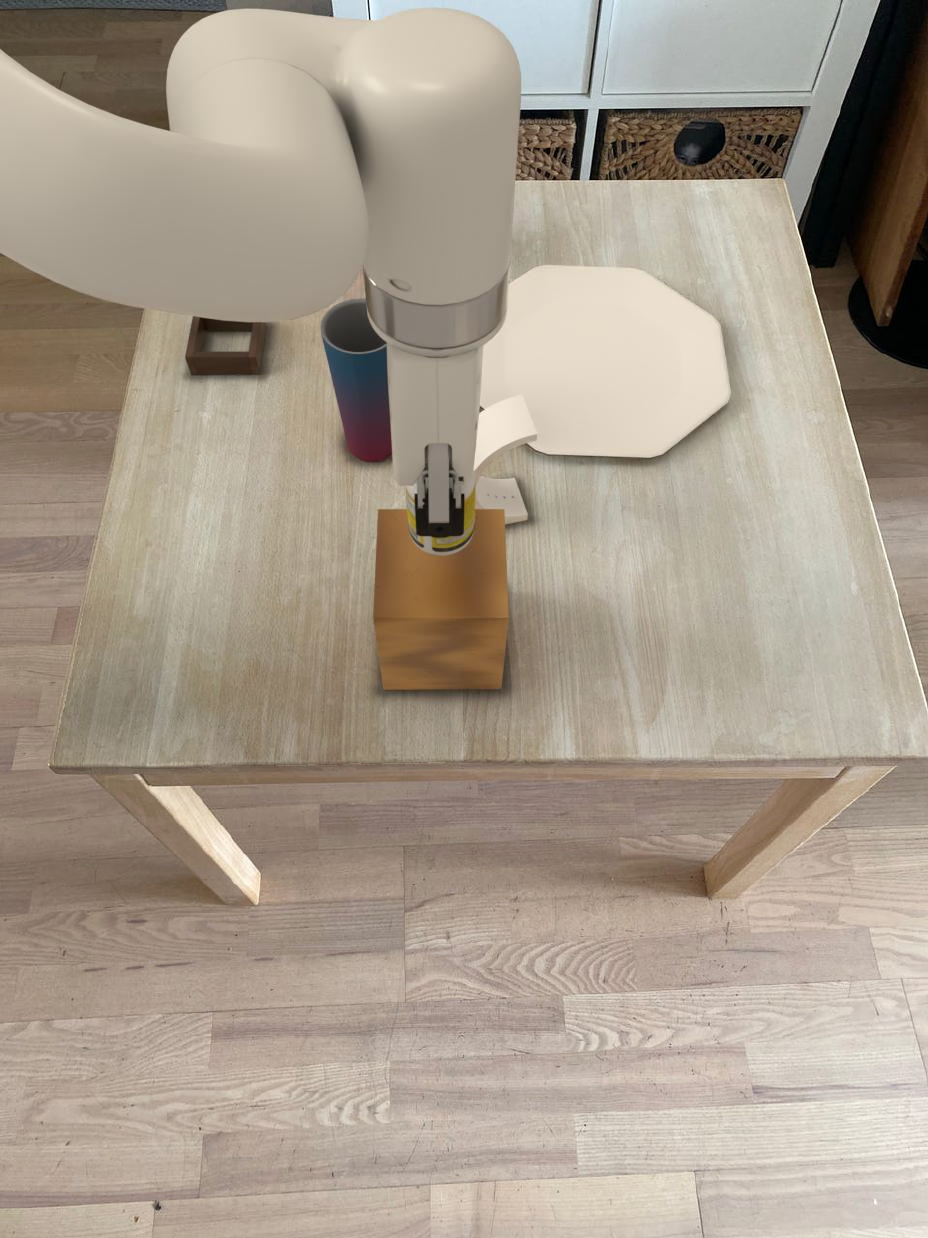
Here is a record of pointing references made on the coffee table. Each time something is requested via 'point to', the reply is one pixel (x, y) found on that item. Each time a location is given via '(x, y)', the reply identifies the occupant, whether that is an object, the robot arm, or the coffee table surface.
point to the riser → (441, 607)
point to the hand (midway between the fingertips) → (440, 498)
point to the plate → (606, 361)
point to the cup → (359, 379)
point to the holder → (224, 360)
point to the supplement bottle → (452, 542)
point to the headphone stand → (496, 436)
